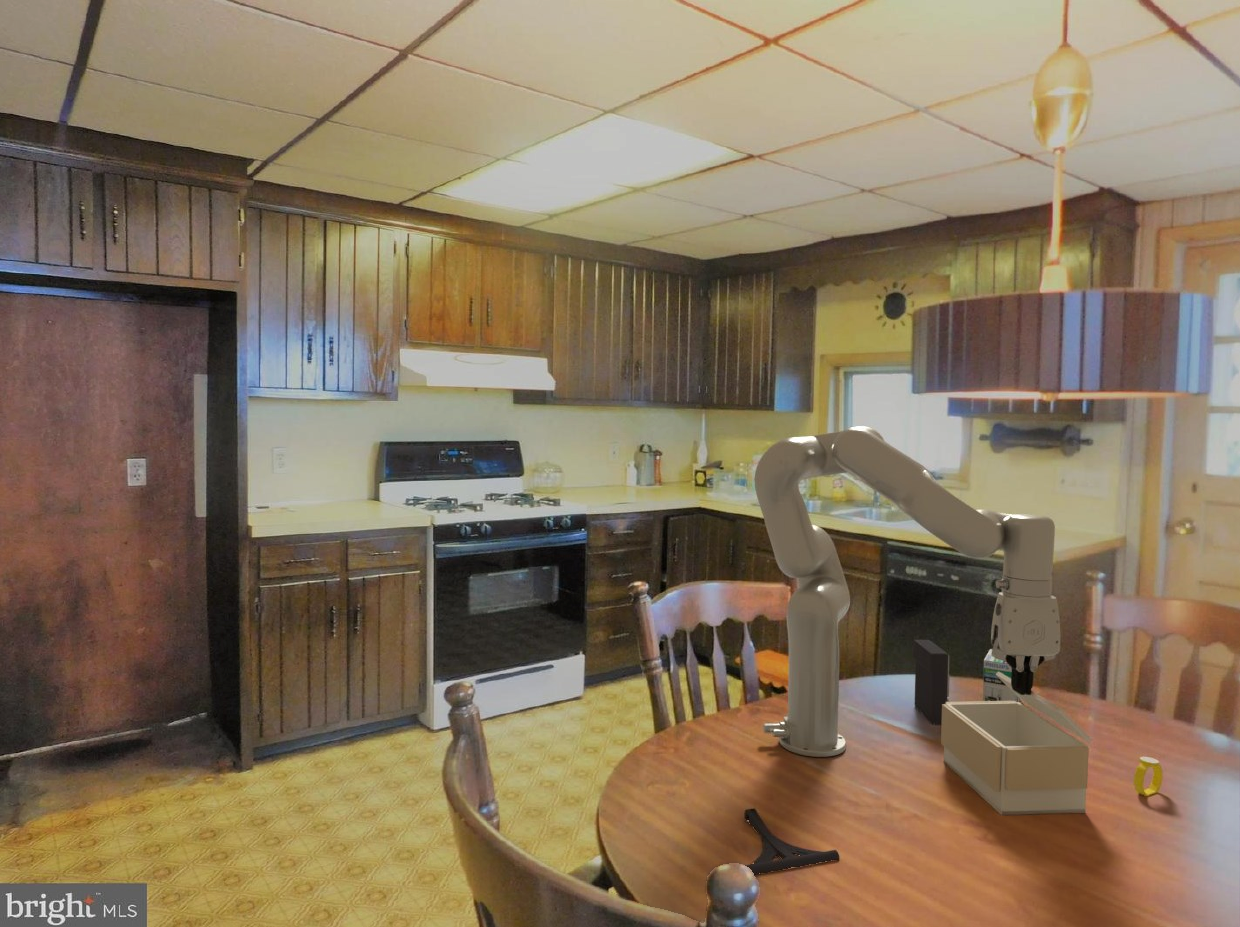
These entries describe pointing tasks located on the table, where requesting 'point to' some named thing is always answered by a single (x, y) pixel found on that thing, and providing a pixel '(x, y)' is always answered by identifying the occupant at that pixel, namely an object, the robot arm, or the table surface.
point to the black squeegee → (781, 850)
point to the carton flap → (1048, 710)
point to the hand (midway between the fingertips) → (1021, 692)
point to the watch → (1140, 773)
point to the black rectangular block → (931, 679)
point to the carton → (1015, 757)
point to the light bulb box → (996, 680)
